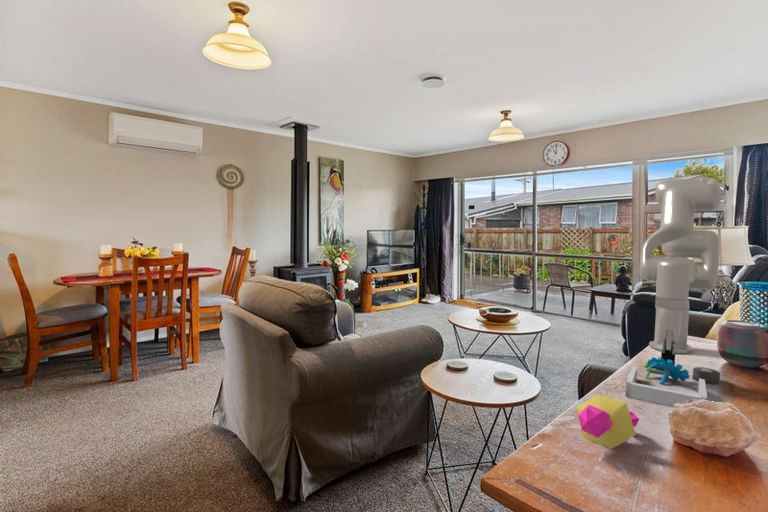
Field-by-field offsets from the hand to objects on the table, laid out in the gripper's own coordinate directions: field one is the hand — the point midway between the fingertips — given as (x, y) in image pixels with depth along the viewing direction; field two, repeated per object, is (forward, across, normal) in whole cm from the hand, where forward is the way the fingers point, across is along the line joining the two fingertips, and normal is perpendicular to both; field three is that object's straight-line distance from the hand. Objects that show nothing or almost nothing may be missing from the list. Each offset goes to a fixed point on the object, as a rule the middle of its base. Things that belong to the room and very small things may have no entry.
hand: (667, 366), depth 116 cm
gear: (+4, +2, 0) cm, 5 cm away
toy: (+4, +49, -9) cm, 50 cm away
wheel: (+4, -5, +9) cm, 11 cm away
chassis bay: (+4, +13, 0) cm, 14 cm away
